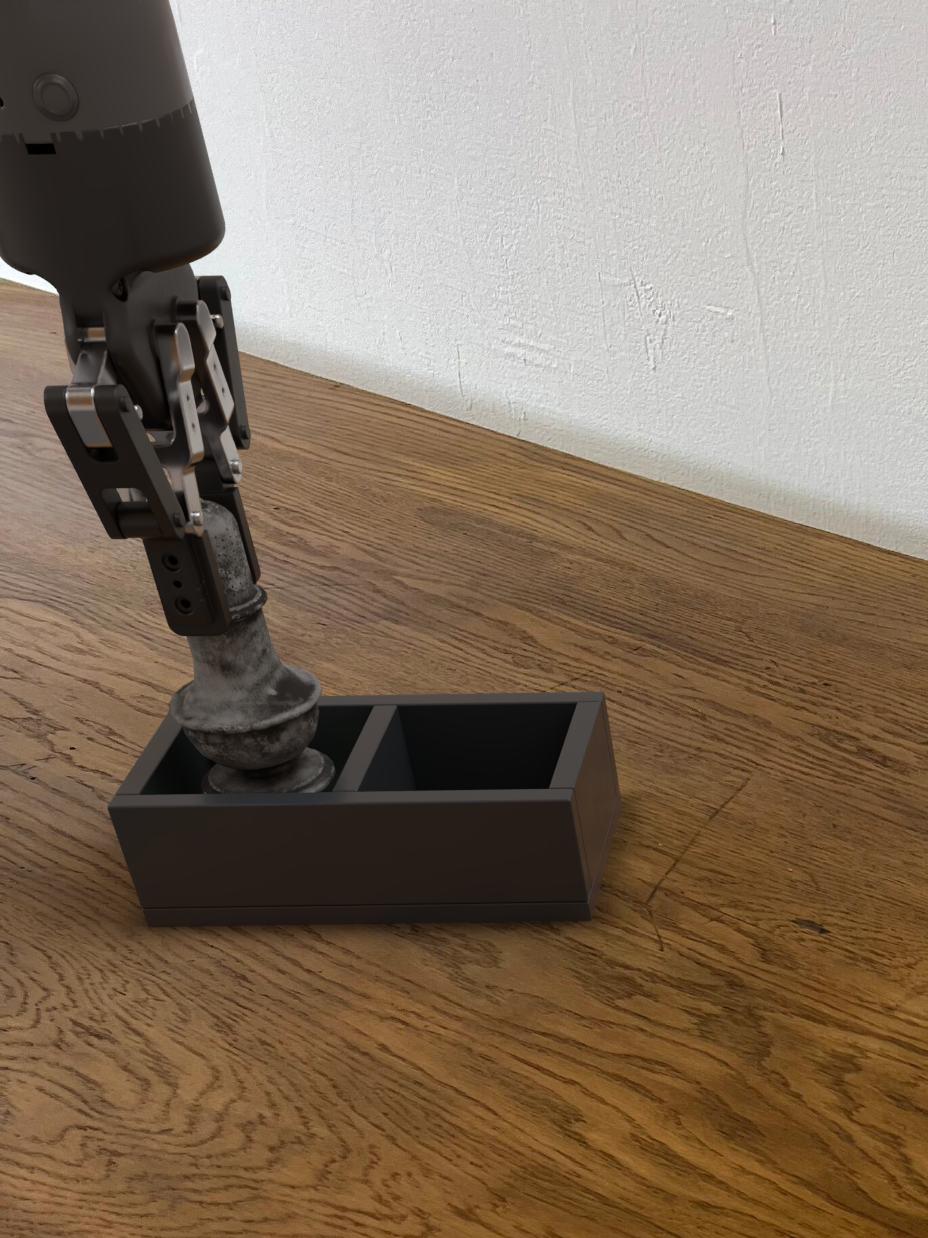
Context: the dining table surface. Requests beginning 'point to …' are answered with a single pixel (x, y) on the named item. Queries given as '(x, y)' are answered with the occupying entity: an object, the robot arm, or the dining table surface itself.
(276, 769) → the salt shaker
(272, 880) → the divided open box
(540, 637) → the dining table surface
